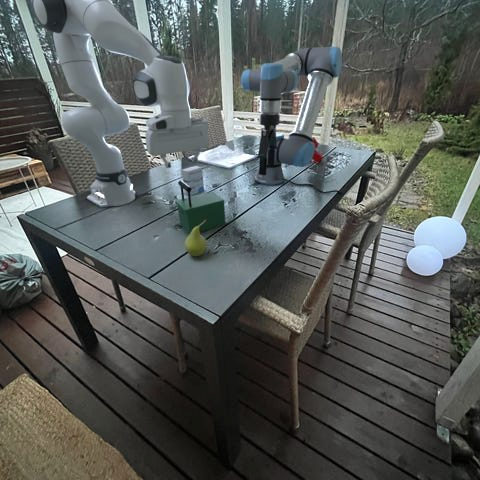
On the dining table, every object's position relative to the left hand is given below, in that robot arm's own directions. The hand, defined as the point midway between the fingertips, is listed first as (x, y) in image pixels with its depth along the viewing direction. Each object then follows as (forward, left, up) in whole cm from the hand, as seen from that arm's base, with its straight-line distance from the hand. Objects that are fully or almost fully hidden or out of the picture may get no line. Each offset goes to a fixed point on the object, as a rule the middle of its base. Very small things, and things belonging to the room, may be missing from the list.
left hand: (182, 164), depth 90 cm
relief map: (-38, +83, -24) cm, 94 cm away
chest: (+3, +5, -24) cm, 25 cm away
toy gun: (+12, +101, -24) cm, 104 cm away
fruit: (+13, -12, -24) cm, 30 cm away
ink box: (-19, +28, -24) cm, 42 cm away
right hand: (+16, +33, -8) cm, 38 cm away
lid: (+3, +4, -15) cm, 16 cm away
